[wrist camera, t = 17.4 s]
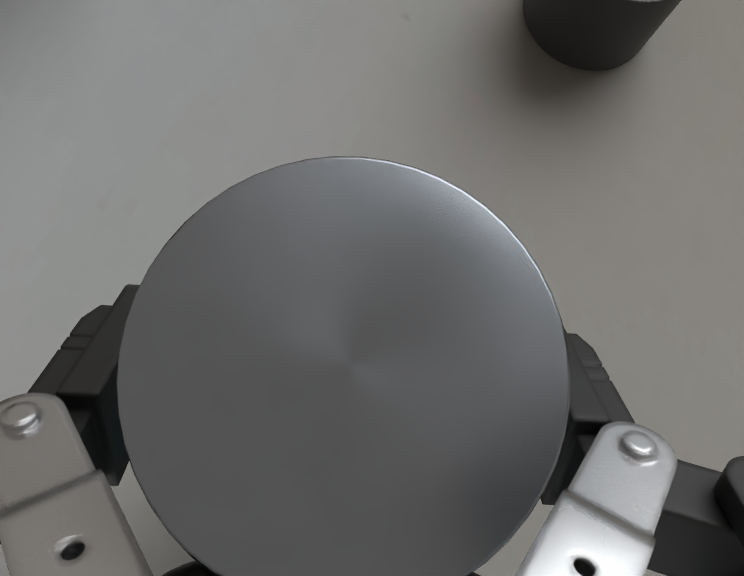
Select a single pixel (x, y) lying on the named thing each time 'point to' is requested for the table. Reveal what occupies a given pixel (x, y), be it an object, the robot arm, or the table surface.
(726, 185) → the table surface
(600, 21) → the black cap
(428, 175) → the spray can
